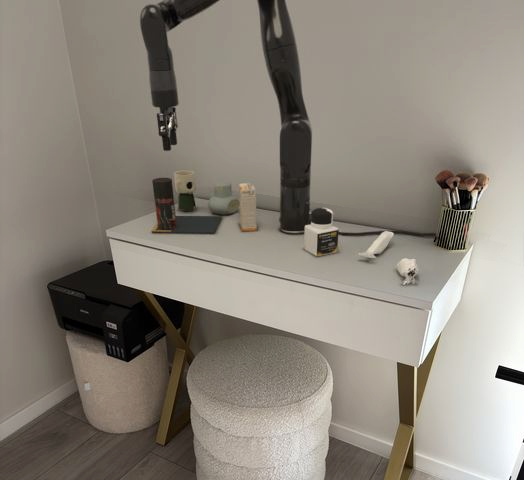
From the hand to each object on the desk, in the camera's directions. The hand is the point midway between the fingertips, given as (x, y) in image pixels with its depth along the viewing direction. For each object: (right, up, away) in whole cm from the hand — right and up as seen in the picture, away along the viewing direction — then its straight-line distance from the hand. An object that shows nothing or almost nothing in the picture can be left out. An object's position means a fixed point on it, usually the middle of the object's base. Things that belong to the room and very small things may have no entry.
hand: (170, 147), depth 160 cm
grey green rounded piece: (+14, -13, +26) cm, 32 cm away
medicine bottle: (+44, -32, -6) cm, 55 cm away
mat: (+3, -20, +15) cm, 25 cm away
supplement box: (+23, -21, +13) cm, 34 cm away
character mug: (+1, -11, +29) cm, 31 cm away
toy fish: (+60, -33, -8) cm, 69 cm away
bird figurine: (+65, -42, -22) cm, 80 cm away
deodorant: (-3, -21, +12) cm, 25 cm away
